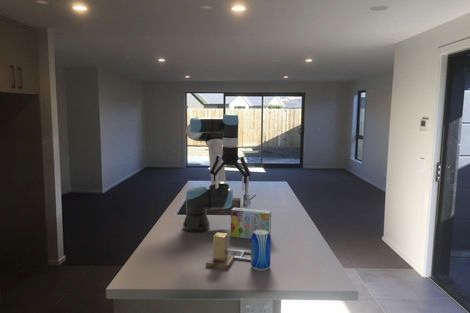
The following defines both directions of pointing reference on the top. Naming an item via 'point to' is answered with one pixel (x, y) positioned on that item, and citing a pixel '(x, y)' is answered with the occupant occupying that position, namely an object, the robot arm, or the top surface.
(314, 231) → the top surface
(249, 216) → the snack box
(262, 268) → the beer can
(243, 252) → the grey slotted plate
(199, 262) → the top surface
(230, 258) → the pad
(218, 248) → the brass rectangular block
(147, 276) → the top surface
